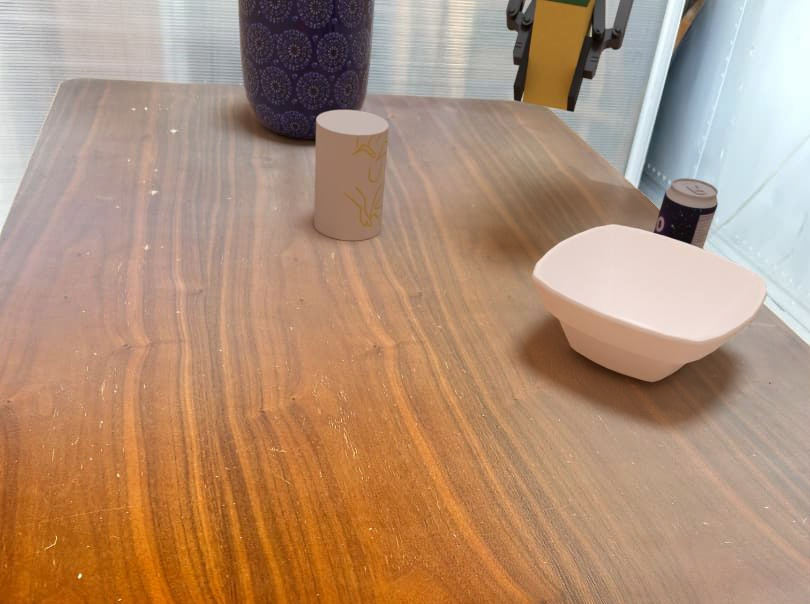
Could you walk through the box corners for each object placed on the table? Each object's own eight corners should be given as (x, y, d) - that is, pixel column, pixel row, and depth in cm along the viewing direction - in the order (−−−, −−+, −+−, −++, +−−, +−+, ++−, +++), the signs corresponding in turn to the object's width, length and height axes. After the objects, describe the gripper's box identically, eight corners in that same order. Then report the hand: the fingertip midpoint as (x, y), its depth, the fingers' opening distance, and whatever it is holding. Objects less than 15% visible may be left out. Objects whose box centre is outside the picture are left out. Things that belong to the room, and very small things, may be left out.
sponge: (580, 82, 97) (601, -28, 89) (568, 110, 93) (588, -2, 84) (536, 74, 98) (553, -36, 89) (522, 102, 94) (537, -11, 85)
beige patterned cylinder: (356, 247, 103) (362, 140, 95) (300, 226, 106) (301, 121, 97) (393, 225, 108) (402, 122, 100) (339, 206, 111) (343, 104, 103)
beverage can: (669, 277, 105) (702, 175, 96) (696, 300, 101) (732, 196, 93) (628, 281, 103) (658, 177, 95) (654, 304, 99) (687, 199, 91)
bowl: (759, 354, 93) (790, 279, 87) (680, 439, 80) (711, 358, 74) (587, 286, 101) (605, 213, 95) (491, 353, 88) (505, 273, 82)
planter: (310, 98, 140) (313, -56, 126) (392, 134, 132) (405, -26, 118) (216, 118, 130) (208, -47, 116) (298, 158, 121) (299, -15, 107)
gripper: (684, -73, 94) (626, 135, 93) (520, -99, 97) (462, 102, 96) (697, -130, 87) (634, 95, 86) (519, -157, 89) (457, 61, 89)
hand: (543, 98), depth 91 cm, fingers closed on sponge, 5 cm apart
